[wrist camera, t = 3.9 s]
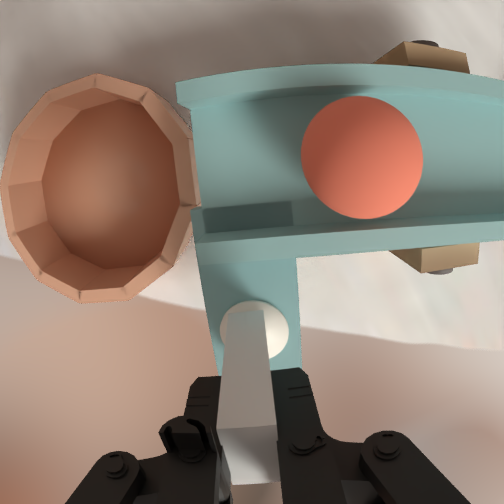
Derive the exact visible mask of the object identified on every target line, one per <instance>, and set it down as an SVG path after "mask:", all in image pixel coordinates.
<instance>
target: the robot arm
mask: <svg viewBox="0 0 504 504" xmlns="http://www.w3.org/2000/svg"><path fill="white" fill-rule="evenodd" d="M159 435H160V437H161V439H162V442H163V444H164V446H165V448H166V450H167V453H165V454H163V455H160V456H157V457H153V458H148V459H143V460H137V459H136V458H135V456H134V455H132V454H130V453H128V452H122V451H116V452H110V453H108V454H106V455H103V456H102V457H101V458H100V459H99V460H98V461H97V462H96V463H95V465H94V466H93V467H92V469H91V470H90V471H89V473H88V474H87V475H86V476H85V478H84V479H83V480H82V482H81V483H80V484H79V486H78V487H77V488H76V490H75V491H74V492H73V494H72V495H71V496H70V498H69V499H68V500H67V502H66V503H65V504H233V498H232V494H231V491H230V484H231V481H232V484H233V485H237V484H256V483H268V482H279V481H281V489H282V498H283V504H471V503H470V502H469V501H468V500H467V499H466V498H465V497H464V496H463V495H462V494H461V493H460V492H459V491H458V490H457V489H456V488H455V487H454V486H453V485H452V484H451V482H450V481H449V480H448V479H447V478H446V477H445V476H444V475H443V474H442V473H441V472H440V471H439V470H438V469H437V468H436V467H435V466H434V465H433V464H432V463H431V462H430V460H429V459H428V458H427V457H426V456H425V455H424V454H423V453H422V452H421V451H420V450H419V449H418V448H417V447H416V446H415V445H414V444H413V443H412V442H411V440H410V439H409V438H407V437H406V436H405V435H403V434H402V433H399V432H395V431H381V432H377V433H374V434H373V435H371V436H369V437H368V438H367V439H366V440H365V441H364V443H352V442H342V441H338V440H336V439H333V438H331V437H330V436H328V435H327V434H326V433H325V431H324V430H323V428H322V425H321V422H320V418H319V414H318V411H317V407H316V403H315V400H314V396H313V392H312V389H311V385H310V382H309V378H308V375H307V374H306V373H305V372H304V371H303V370H302V369H301V368H300V367H296V368H288V369H280V370H271V371H270V363H269V355H268V346H267V337H266V329H265V320H264V312H263V310H257V311H247V312H237V313H228V320H227V330H226V339H225V348H224V357H223V367H222V376H211V377H198V378H197V379H196V380H195V381H194V383H193V384H192V385H191V386H190V390H189V395H188V399H187V403H186V408H185V412H184V416H178V417H176V418H173V419H171V420H169V421H168V422H166V423H165V424H164V425H163V426H162V427H161V429H160V431H159Z"/></svg>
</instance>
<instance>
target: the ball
mask: <svg viewBox="0 0 504 504" xmlns="http://www.w3.org/2000/svg"><path fill="white" fill-rule="evenodd" d="M301 163H302V168H303V172H304V175H305V178H306V180H307V182H308V184H309V186H310V188H311V189H312V191H313V192H314V194H315V195H316V196H317V197H318V198H319V199H320V200H321V201H322V202H323V203H324V204H325V205H326V206H328V207H329V208H331V209H332V210H334V211H336V212H338V213H340V214H342V215H345V216H348V217H352V218H358V219H372V218H378V217H382V216H385V215H388V214H390V213H392V212H394V211H395V210H397V209H398V208H400V207H401V206H402V205H404V204H405V203H406V202H407V201H408V200H409V198H410V197H411V196H412V195H413V193H414V191H415V190H416V188H417V186H418V184H419V181H420V178H421V174H422V168H423V152H422V147H421V143H420V140H419V137H418V135H417V133H416V131H415V129H414V127H413V126H412V124H411V123H410V121H409V120H408V119H407V118H406V117H405V116H404V115H403V113H401V112H400V111H399V110H398V109H396V108H395V107H394V106H392V105H390V104H388V103H387V102H385V101H382V100H380V99H377V98H372V97H367V96H351V97H345V98H341V99H339V100H336V101H334V102H332V103H330V104H328V105H327V106H325V107H324V108H323V109H321V110H320V111H319V112H318V113H317V114H316V115H315V116H314V118H313V119H312V120H311V122H310V123H309V125H308V127H307V129H306V131H305V133H304V137H303V141H302V146H301Z"/></svg>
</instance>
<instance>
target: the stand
mask: <svg viewBox="0 0 504 504" xmlns="http://www.w3.org/2000/svg"><path fill="white" fill-rule="evenodd" d="M373 64H383V65H400V66H413V67H423V68H432V69H440V70H448V71H455V72H461V73H467V74H470V71H469V66H468V62H467V57H466V53H462V52H458V51H454V50H449V49H445V48H440V47H439V46H438V44H437V43H435V42H432V41H426V40H419V41H412V42H405V41H404V42H402V43H401V44H399V45H398V46H397V47H395V48H394V49H392V50H391V51H390V52H388V53H387V54H385V55H384V56H383V57H381V58H380V59H378V60H377V61H376V62H374V63H373ZM479 243H480V242H478V243H467V244H456V245H445V246H434V247H422V248H411V249H399V250H388V251H390V252H391V253H393V254H394V255H395V256H397V257H398V258H400V259H401V260H403V261H404V262H406V263H407V264H408V265H410V266H411V267H413V268H414V269H416V270H417V271H418V272H420V273H426V272H427V273H430V274H438V275H442V274H448V273H451V272H452V271H453V268H455V267H461V266H467V265H472V264H478V255H479Z"/></svg>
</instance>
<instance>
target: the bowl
mask: <svg viewBox="0 0 504 504" xmlns="http://www.w3.org/2000/svg"><path fill="white" fill-rule="evenodd" d="M0 185H1V186H0V193H1V200H2V206H3V212H4V218H5V223H6V228H7V233H8V237H9V240H10V241H11V243H12V244H13V246H14V247H15V249H16V250H17V252H18V253H19V255H20V256H21V258H22V259H23V261H24V262H25V264H26V265H27V267H28V268H29V270H30V271H31V272H32V274H33V275H34V277H35V278H36V279H38V281H39V282H41V283H43V284H45V285H46V286H48V287H50V288H52V289H54V290H55V291H57V292H60V293H61V294H63V295H65V296H67V297H69V298H70V299H72V300H74V301H76V302H78V303H81V304H82V303H98V302H114V301H129V300H131V299H132V298H133V297H134V296H136V295H137V294H138V293H140V292H141V291H142V290H143V289H145V288H146V287H147V286H149V285H150V284H151V283H152V282H154V281H155V280H156V279H158V278H159V277H160V276H162V275H163V274H164V273H165V272H167V271H168V270H169V269H171V268H172V267H173V266H174V264H175V263H176V261H177V260H178V259H179V257H180V256H181V254H182V253H183V251H184V250H185V249H186V247H187V245H188V242H189V240H190V237H191V235H192V232H193V228H192V222H191V215H190V210H191V209H193V208H195V207H198V206H201V199H200V191H199V183H198V175H197V167H196V159H195V150H194V141H193V133H192V132H191V130H190V129H189V127H188V126H187V124H186V123H185V122H184V121H183V119H182V118H181V117H180V116H179V115H178V114H177V112H176V111H175V110H174V109H173V107H172V106H171V105H170V103H169V102H168V101H166V100H165V99H164V98H162V97H161V96H159V95H158V94H157V93H155V92H154V91H153V90H151V89H150V88H147V87H144V86H141V85H138V84H134V83H131V82H128V81H124V80H121V79H117V78H114V77H110V76H106V75H103V74H99V73H95V74H92V75H89V76H86V77H83V78H80V79H78V80H75V81H72V82H69V83H67V84H64V85H61V86H59V87H56V88H54V89H51V90H49V91H48V92H46V93H45V94H44V95H43V96H42V97H41V99H40V100H39V101H38V102H37V103H36V104H35V105H34V107H33V108H32V109H31V110H30V111H29V113H28V114H27V115H26V116H25V118H24V119H23V120H22V121H21V123H20V124H19V125H18V126H17V128H16V129H15V130H14V132H13V133H12V137H11V140H10V144H9V147H8V151H7V155H6V159H5V163H4V167H3V171H2V176H1V181H0Z"/></svg>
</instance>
